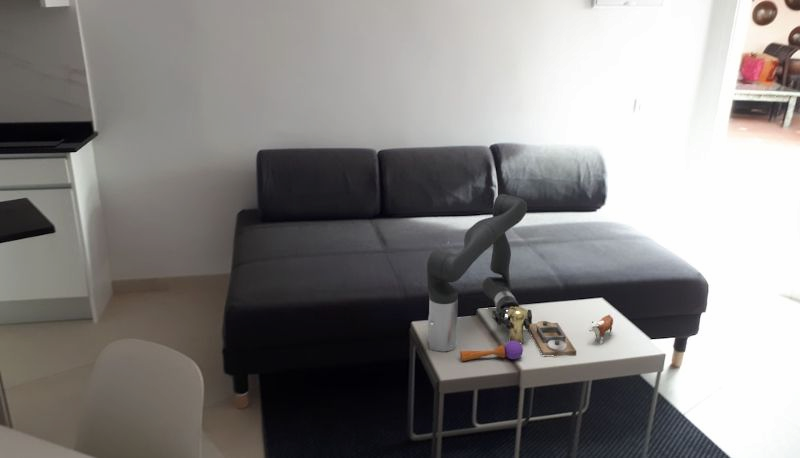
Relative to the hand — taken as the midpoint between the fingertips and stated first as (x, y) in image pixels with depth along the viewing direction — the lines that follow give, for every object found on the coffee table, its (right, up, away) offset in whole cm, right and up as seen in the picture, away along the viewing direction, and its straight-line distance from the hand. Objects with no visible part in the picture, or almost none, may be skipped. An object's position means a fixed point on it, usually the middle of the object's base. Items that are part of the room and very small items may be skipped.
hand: (518, 327), depth 208 cm
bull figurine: (+29, -5, +7) cm, 30 cm away
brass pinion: (0, -6, +5) cm, 7 cm away
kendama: (-10, -10, -5) cm, 15 cm away
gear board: (+12, -5, +6) cm, 14 cm away
